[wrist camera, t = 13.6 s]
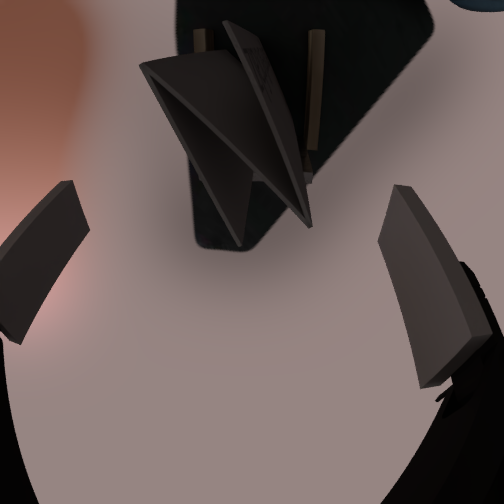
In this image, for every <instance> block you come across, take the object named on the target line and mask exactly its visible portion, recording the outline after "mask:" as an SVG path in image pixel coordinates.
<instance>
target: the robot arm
mask: <svg viewBox="0 0 504 504" xmlns="http://www.w3.org/2000/svg"><path fill="white" fill-rule="evenodd" d="M450 1H451V2H452V3H454V4H456V5H457V6H458V7H460V8H463V9H466V10H470V11H477V12H478V11H479V12H501V11H504V0H450ZM89 231H90V229H89V226H88V224H87V221H86V218H85V215H84V213H83V210H82V207H81V204H80V201H79V198H78V195H77V192H76V189H75V186H74V183H73V180H70V181H61V182H60V183H59V184H57V185H56V186H55V187H54V188H53V189H52V190H51V191H50V192H49V193H48V194H47V195H46V196H45V197H44V198H43V199H42V200H41V201H40V202H39V203H38V204H37V205H36V206H35V207H34V208H33V209H32V210H31V212H30V213H29V214H28V215H27V216H26V217H25V218H24V219H23V220H22V221H21V222H20V224H19V225H18V226H17V227H16V228H15V229H14V230H13V232H12V233H11V234H10V235H9V236H8V238H7V239H6V240H5V241H4V242H3V244H2V245H1V246H0V331H1V332H2V333H3V334H4V335H5V336H6V337H7V338H8V339H9V340H10V341H12V342H14V343H17V344H19V345H21V344H22V341H23V339H24V337H25V335H26V333H27V331H28V329H29V327H30V325H31V324H32V322H33V320H34V318H35V316H36V314H37V312H38V311H39V309H40V307H41V305H42V304H43V302H44V300H45V298H46V297H47V295H48V293H49V291H50V290H51V288H52V286H53V285H54V283H55V282H56V280H57V278H58V277H59V275H60V273H61V272H62V270H63V269H64V267H65V266H66V264H67V263H68V261H69V260H70V258H71V257H72V255H73V254H74V252H75V251H76V249H77V248H78V246H79V245H80V244H81V242H82V241H83V239H84V238H85V236H86V235H87V234H88V232H89ZM378 243H379V246H380V249H381V252H382V254H383V257H384V260H385V263H386V266H387V268H388V271H389V274H390V277H391V280H392V283H393V286H394V289H395V292H396V295H397V299H398V302H399V305H400V309H401V312H402V315H403V319H404V323H405V326H406V330H407V333H408V337H409V341H410V345H411V348H412V353H413V357H414V361H415V366H416V371H417V375H418V380H419V384H420V389H422V388H429V387H434V386H440V385H441V384H442V383H443V382H445V381H446V380H447V379H448V378H449V377H450V376H451V379H452V383H453V385H451V386H450V387H449V388H448V389H447V390H445V391H444V392H443V393H442V394H440V395H439V396H438V398H437V399H436V400H435V401H436V402H439V401H440V400H441V399H443V398H444V397H445V398H444V400H443V402H442V404H441V406H440V408H439V410H438V412H437V415H436V417H435V419H434V421H433V422H432V425H431V426H430V428H429V430H428V432H427V434H426V436H425V437H424V439H423V441H422V443H421V445H420V446H419V448H418V450H417V451H416V453H415V455H414V456H413V458H412V459H411V461H410V463H409V464H408V466H407V467H406V469H405V470H404V472H403V473H402V475H401V476H400V478H399V479H398V481H397V482H396V483H395V485H394V486H393V488H392V489H391V490H390V492H389V493H388V495H387V496H386V497H385V499H384V500H383V501H382V502H381V504H504V336H503V334H502V332H501V329H500V327H499V325H498V322H497V320H496V317H495V315H494V313H493V311H492V309H491V306H490V304H489V302H488V300H487V298H485V294H484V292H483V290H482V288H480V284H479V282H478V280H477V278H476V276H475V274H474V273H473V271H472V270H471V269H470V268H469V267H468V266H467V265H466V264H465V263H464V262H459V261H458V259H457V257H456V255H455V254H454V252H453V250H452V249H451V247H450V245H449V243H448V242H447V240H446V238H445V237H444V235H443V233H442V232H441V230H440V228H439V227H438V225H437V224H436V222H435V221H434V219H433V218H432V216H431V215H430V213H429V212H428V210H427V209H426V207H425V206H424V204H423V203H422V201H421V200H420V198H419V197H418V196H417V194H416V193H415V191H414V190H413V189H412V187H409V186H402V185H394V187H393V191H392V194H391V198H390V202H389V205H388V209H387V212H386V216H385V219H384V222H383V226H382V229H381V232H380V235H379V238H378ZM0 504H39V503H38V500H37V498H36V495H35V493H34V490H33V488H32V485H31V482H30V480H29V477H28V474H27V471H26V468H25V465H24V462H23V459H22V455H21V452H20V448H19V445H18V441H17V437H16V433H15V428H14V424H13V420H12V415H11V409H10V404H9V398H8V391H7V384H6V375H5V367H4V354H3V342H2V339H1V338H0Z"/></svg>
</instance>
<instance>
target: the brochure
mask: <svg viewBox="0 0 504 504" xmlns="http://www.w3.org/2000/svg"><path fill="white" fill-rule="evenodd" d="M222 23H223V25H224V27H225V29H226V31H227V33H228V35H229V37H230V39H231V41H232V43H233V45H234V47H235V50H236V52H237V54H238V56H239V58H240V60H241V62H242V64H243V65H242V64H241V63H240V62H239V61H238V60H237V59H236V58H235V57H234V56H233V55H232V54H231V53H229V52H228V51H227V50H226V49H225V50H215V51H206V52H198V53H191V54H184V55H178V56H172V57H167V58H162V59H157V60H152V61H148V62H143V63H141V64H140V65H139V67H140V69H141V70H142V72H143V74H144V76H145V78H146V80H147V82H148V84H149V85H150V87H151V89H152V91H153V93H154V95H155V97H156V98H157V100H158V102H159V104H160V106H161V107H162V109H163V111H164V113H165V115H166V117H167V118H168V120H169V122H170V124H171V126H172V128H173V130H174V131H175V133H176V135H177V137H178V139H179V141H180V142H181V144H182V146H183V148H184V150H185V151H186V153H187V155H188V157H189V159H190V161H191V162H192V164H193V166H194V168H195V170H196V172H197V173H198V175H199V177H200V179H201V181H202V182H203V184H204V186H205V188H206V190H207V191H208V193H209V195H210V197H211V199H212V200H213V202H214V204H215V206H216V208H217V209H218V211H219V213H220V215H221V217H222V218H223V220H224V222H225V224H226V226H227V227H228V229H229V231H230V233H231V234H232V236H233V238H234V240H235V242H236V243H237V245H238V247H239V246H242V243H243V236H244V230H245V223H246V217H247V211H248V204H249V198H250V192H251V186H252V179H253V173H254V172H255V173H256V174H257V175H258V176H259V177H260V178H261V179H262V180H263V181H264V182H265V183H266V184H267V185H268V186H269V187H270V188H271V189H272V190H273V191H274V192H275V193H276V194H277V195H278V196H279V197H280V198H281V199H282V201H283V202H284V203H285V204H286V205H287V206H288V207H289V208H290V209H291V210H292V211H293V212H294V213H295V214H296V215H297V216H298V217H299V219H300V220H301V221H302V222H303V223H304V224H305V225H306V226H307V227H308V228H311V227H313V226H312V220H311V213H310V207H309V201H308V195H307V189H306V184H305V178H304V173H303V168H302V162H301V157H300V152H299V147H298V142H297V137H296V133H295V128H294V123H293V119H292V115H291V112H290V110H289V107H288V105H287V102H286V100H285V97H284V95H283V92H282V90H281V87H280V85H279V83H278V80H277V78H276V76H275V73H274V71H273V69H272V66H271V64H270V62H269V59H268V57H267V55H266V53H265V51H264V48H263V46H262V44H261V42H260V40H259V38H258V37H257V36H256V35H254V34H252V33H250V32H248V31H247V30H245V29H243V28H241V27H239V26H238V25H236V24H234V23H232V22H230V21H228V20H226V21H223V22H222Z"/></svg>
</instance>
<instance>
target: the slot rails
mask: <svg viewBox="0 0 504 504" xmlns="http://www.w3.org/2000/svg"><path fill="white" fill-rule="evenodd" d="M193 31H194V53H198V52H206V51H214V30H209V29H196V30H193ZM324 47H325V30H319V29H312V30H310V31H309V32H308V64H307V86H306V105H305V121H304V136H303V137H304V141H305V144H306V148H307V150H317V146H318V136H319V125H320V113H321V99H322V85H323V68H324Z"/></svg>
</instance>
